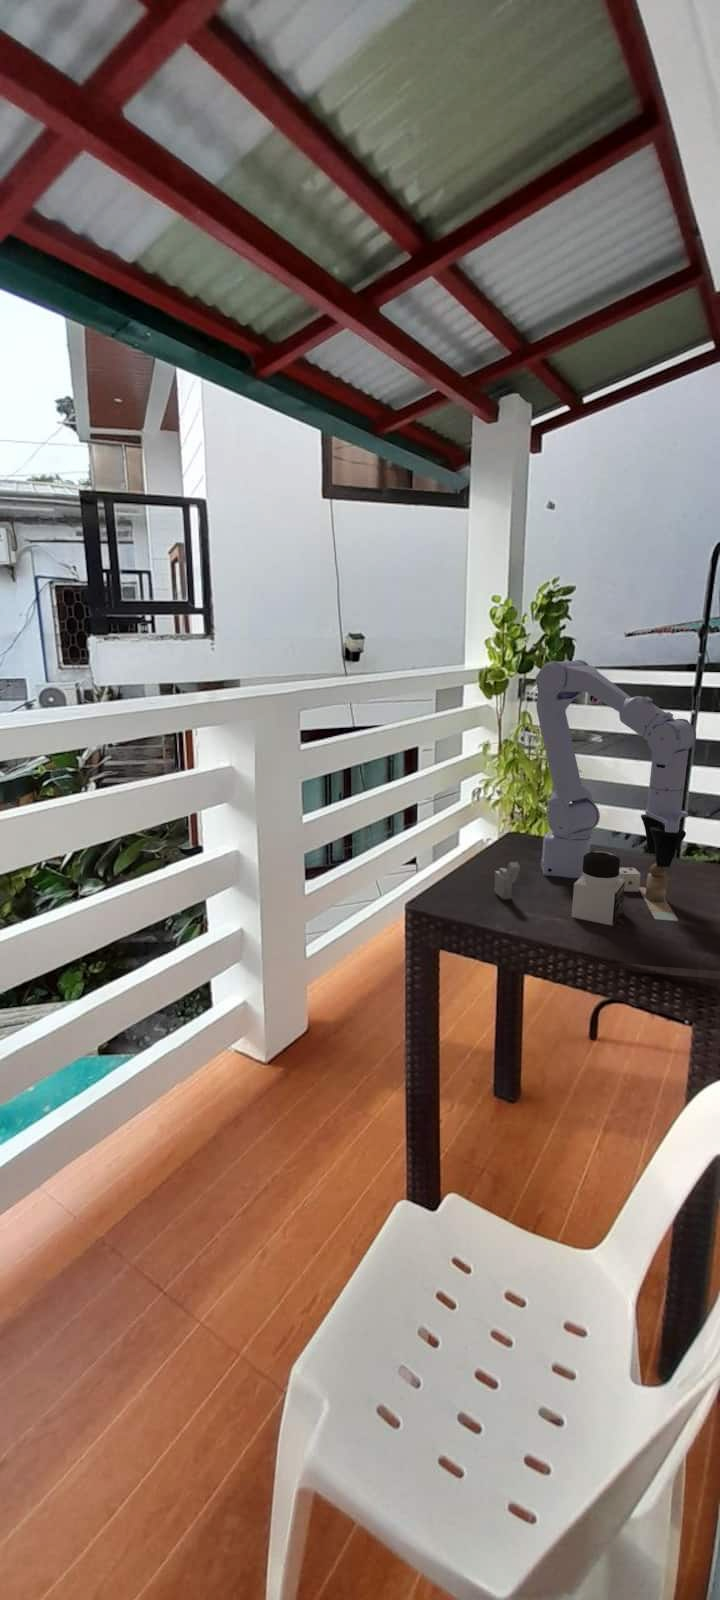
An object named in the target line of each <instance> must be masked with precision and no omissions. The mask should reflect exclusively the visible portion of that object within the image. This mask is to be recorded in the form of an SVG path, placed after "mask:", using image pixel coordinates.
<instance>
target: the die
mask: <svg viewBox="0 0 720 1600" xmlns="http://www.w3.org/2000/svg"><path fill="white" fill-rule="evenodd" d="M619 878H621V879H624V880H625V885H624V892H637V893H639V892H640V890H639V887H640V884H641V873H640V872H639V871H638V870H637V869H636V868H635V867H620V868H619Z"/></svg>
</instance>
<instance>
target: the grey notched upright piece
mask: <svg viewBox="0 0 720 1600" xmlns="http://www.w3.org/2000/svg"><path fill="white" fill-rule="evenodd" d="M520 871H521V866H520V864H519V862H518V861H511V862H509V863H508V865H507V868H505V867H501V868H499V869H498V870H495V871H494V890H493V892H494V894H496V895H497V896H498V897H499V898H501V899H502V900H511V899H512V891H513V889H512V888H513V886H512V885H513V883H516V882H517V879H518V876H519V873H520Z"/></svg>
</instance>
